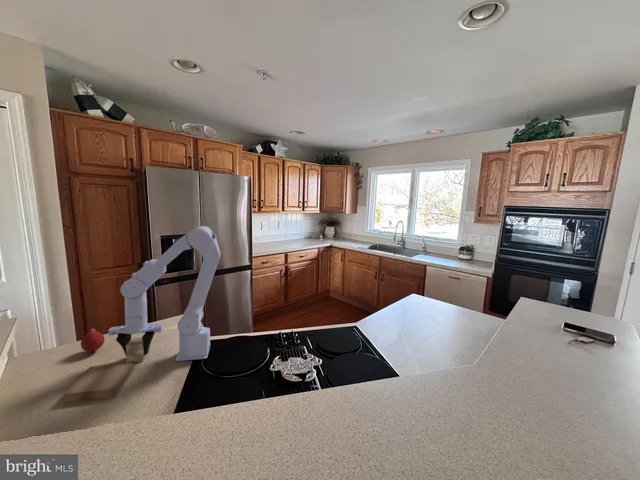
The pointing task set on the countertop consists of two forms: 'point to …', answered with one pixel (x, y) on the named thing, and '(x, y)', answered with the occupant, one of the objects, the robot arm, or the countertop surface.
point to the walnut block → (99, 383)
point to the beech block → (135, 350)
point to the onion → (92, 341)
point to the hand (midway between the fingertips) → (137, 353)
